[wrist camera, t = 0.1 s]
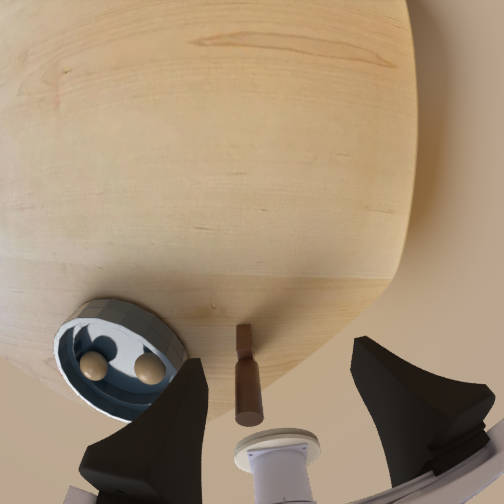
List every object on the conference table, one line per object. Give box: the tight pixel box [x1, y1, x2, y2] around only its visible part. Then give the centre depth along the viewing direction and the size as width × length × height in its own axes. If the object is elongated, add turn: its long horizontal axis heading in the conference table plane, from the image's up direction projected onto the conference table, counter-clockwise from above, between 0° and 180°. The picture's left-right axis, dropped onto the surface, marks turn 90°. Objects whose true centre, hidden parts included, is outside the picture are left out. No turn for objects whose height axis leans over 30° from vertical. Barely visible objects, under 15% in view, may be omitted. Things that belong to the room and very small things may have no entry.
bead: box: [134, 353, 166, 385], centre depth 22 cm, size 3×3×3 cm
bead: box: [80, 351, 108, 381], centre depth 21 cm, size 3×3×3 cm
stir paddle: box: [235, 324, 264, 427], centre depth 19 cm, size 4×2×9 cm, turn 6°
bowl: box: [53, 299, 188, 423], centre depth 22 cm, size 13×13×4 cm
